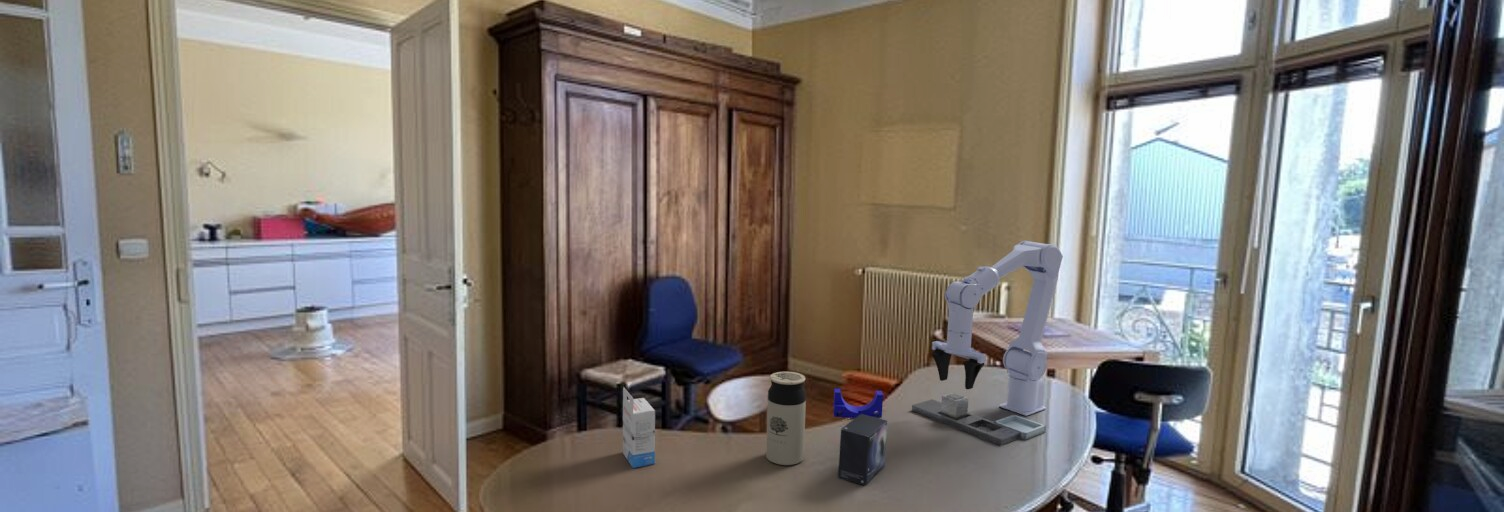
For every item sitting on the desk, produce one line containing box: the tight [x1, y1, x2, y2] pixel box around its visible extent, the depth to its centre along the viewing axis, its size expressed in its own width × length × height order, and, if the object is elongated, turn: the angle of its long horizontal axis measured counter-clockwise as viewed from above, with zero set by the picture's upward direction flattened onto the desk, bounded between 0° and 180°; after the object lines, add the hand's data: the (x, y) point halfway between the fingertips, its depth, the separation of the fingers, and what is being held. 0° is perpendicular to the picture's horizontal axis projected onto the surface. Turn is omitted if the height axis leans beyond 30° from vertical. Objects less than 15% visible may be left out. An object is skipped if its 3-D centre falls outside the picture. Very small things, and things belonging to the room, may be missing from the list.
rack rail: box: [911, 399, 1022, 446], centre depth 164 cm, size 8×26×1 cm, turn 36°
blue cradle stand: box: [833, 388, 884, 419], centre depth 167 cm, size 12×4×6 cm, turn 85°
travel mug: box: [765, 371, 807, 466], centre depth 141 cm, size 8×8×18 cm
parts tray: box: [993, 414, 1047, 441], centre depth 160 cm, size 8×8×2 cm
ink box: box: [622, 386, 656, 469], centre depth 139 cm, size 8×5×15 cm, turn 26°
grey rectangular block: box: [941, 392, 969, 420], centre depth 166 cm, size 4×4×6 cm
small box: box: [837, 414, 888, 486], centre depth 135 cm, size 11×6×10 cm, turn 148°
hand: (956, 384), depth 165 cm, fingers open, 7 cm apart
